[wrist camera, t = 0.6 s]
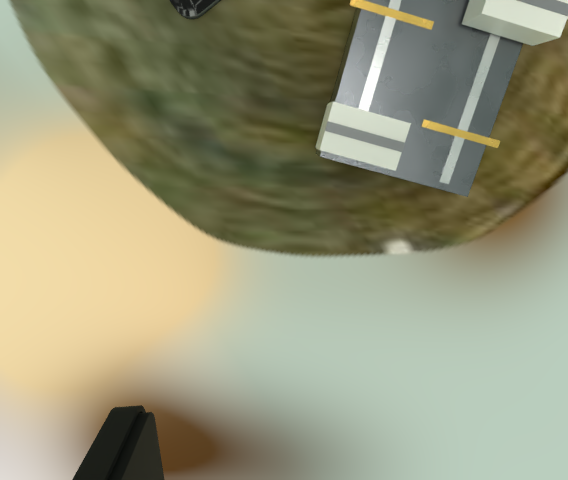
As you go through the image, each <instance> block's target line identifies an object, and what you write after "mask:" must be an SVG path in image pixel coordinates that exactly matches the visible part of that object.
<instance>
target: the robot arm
mask: <svg viewBox="0 0 568 480" xmlns="http://www.w3.org/2000/svg"><path fill="white" fill-rule="evenodd" d="M73 480H164V475H163V468H162V462H161V456H160V449H159V443H158V437H157V430H156V423H155V418H154V414H153V413H152V412H149V413H146V412H145V409H144V407H143V406H129V407H115V408H113V409H112V410H111V411H110V413H109V415H108V417H107V419H106V421H105V422H104V424H103V426H102V428H101V429H100V431H99V433H98V435H97V437H96V438H95V440H94V442H93V444H92V445H91V447H90V449H89V451H88V453H87V454H86V456H85V458H84V460H83V462H82V464H81V465H80V467H79V469H78V471H77V472H76V474H75V476H74V478H73Z"/></svg>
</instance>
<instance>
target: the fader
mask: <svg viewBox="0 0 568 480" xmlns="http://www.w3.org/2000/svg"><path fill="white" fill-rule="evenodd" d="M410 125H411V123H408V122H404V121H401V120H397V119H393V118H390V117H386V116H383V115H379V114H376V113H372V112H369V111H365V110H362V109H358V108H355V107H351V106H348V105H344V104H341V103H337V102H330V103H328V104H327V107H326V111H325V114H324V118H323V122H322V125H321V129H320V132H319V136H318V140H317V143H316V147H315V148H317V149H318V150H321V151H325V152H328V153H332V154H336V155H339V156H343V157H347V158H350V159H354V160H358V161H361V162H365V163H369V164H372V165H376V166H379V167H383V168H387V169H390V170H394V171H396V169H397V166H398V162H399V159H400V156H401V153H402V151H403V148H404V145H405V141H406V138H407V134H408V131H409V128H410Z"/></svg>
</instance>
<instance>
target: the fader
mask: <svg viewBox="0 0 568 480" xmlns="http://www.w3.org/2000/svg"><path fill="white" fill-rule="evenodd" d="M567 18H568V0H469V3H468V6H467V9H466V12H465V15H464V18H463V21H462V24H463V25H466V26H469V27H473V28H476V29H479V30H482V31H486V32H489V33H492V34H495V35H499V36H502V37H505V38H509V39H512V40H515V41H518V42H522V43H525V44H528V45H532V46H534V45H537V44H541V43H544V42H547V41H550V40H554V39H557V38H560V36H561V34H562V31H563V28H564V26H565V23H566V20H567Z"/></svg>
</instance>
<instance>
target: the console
mask: <svg viewBox="0 0 568 480" xmlns="http://www.w3.org/2000/svg"><path fill="white" fill-rule="evenodd" d="M468 3H469V0H351V2H350V6H353V7H357V8H356V12H355V16H354V19H353V23H352V26H351V30H350V33H349V37H348V41H347V44H346V48H345V51H344V55H343V58H342V62H341V66H340V69H339V73H338V76H337V80H336V83H335V87H334V91H333V94H332V98H331V101H330V102H337V103H341V104H344V105H348V106H351V107H355V108H358V109H362V110H365V111H369V112H372V113H376V114H379V115H383V116H386V117H390V118H393V119H397V120H401V121H404V122H408V123H411V125H410V128H409V131H408V134H407V138H406V141H405V145H404V148H403V151H402V153H401V156H400V159H399V162H398V166H397V169H396V171H394V170H390V169H387V168H383V167H379V166H376V165H372V164H369V163H365V162H361V161H358V160H354V159H350V158H347V157H343V156H339V155H336V154H332V153H328V152H325V151H321V150H318V149H317V151H316V154H317V155H318V156H320V157H323V158H327V159H331V160H334V161H338V162H342V163H345V164H349V165H353V166H356V167H360V168H364V169H367V170H371V171H375V172H378V173H382V174H386V175H389V176H393V177H397V178H400V179H404V180H408V181H412V182H415V183H419V184H423V185H426V186H430V187H434V188H437V189H441V190H445V191H448V192H452V193H456V194H459V195H463V196H467V197H468V194H469V191H470V189H471V186H472V183H473V180H474V177H475V175H476V172H477V169H478V166H479V164H480V161H481V158H482V155H483V153H484V150H485V147H486V145H488V146H492V147H495V148H498V146H499V143H500V141H499V140H495V139H492V138H489V136H490V133H491V130H492V128H493V125H494V122H495V119H496V117H497V114H498V111H499V108H500V106H501V103H502V100H503V97H504V95H505V92H506V89H507V86H508V83H509V81H510V78H511V75H512V72H513V70H514V67H515V64H516V61H517V59H518V56H519V53H520V50H521V48H522V45H523V43H522V42H518V41H515V40H512V39H509V38H505V37H502V36H499V35H495V34H492V33H489V32H486V31H482V30H479V29H476V28H473V27H469V26H466V25H463V24H462V21H463V18H464V15H465V12H466V9H467V6H468Z"/></svg>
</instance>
